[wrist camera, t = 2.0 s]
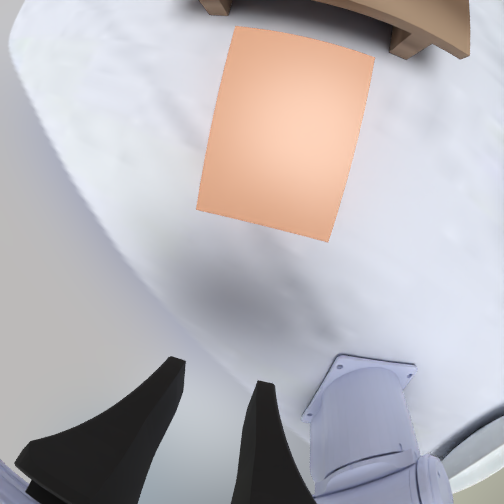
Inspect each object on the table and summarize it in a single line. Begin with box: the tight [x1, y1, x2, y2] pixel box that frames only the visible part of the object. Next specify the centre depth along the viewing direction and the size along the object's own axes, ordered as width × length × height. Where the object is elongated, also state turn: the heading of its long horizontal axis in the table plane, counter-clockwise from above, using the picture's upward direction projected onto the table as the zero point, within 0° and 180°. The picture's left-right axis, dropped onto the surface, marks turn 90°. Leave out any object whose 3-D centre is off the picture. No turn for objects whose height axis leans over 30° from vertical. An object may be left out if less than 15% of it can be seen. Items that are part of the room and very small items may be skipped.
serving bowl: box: [442, 416, 504, 494], centre depth 22 cm, size 21×21×7 cm
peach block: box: [196, 26, 375, 242], centre depth 14 cm, size 10×7×3 cm
